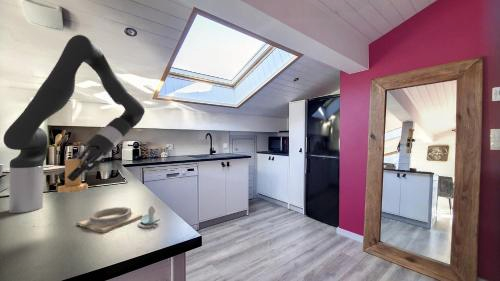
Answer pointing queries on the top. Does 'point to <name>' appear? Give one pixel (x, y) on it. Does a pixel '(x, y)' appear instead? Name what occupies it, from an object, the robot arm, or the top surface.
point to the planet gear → (70, 185)
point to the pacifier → (148, 219)
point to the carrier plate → (109, 227)
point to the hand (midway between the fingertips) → (66, 178)
